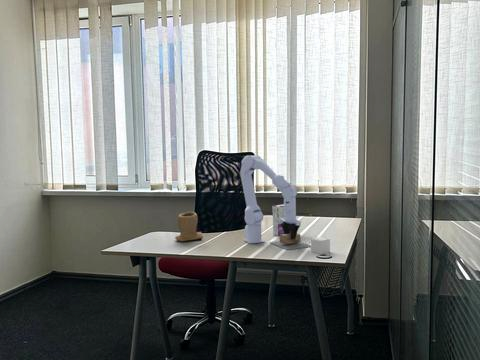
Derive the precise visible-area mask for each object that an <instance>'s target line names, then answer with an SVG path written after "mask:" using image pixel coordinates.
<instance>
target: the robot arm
mask: <svg viewBox="0 0 480 360" xmlns="http://www.w3.org/2000/svg"><path fill="white" fill-rule="evenodd" d="M255 170H260V171H262V172H263V174H265V175H266V176H267V177H268V178H269V179H270V180H271V182H272V185H274V187H276V188H277V190H279V192H281V195H282V198H283V204H284V218H280V222H283V223H281V224H280V225H281V227H282V228H283V231H284V234H290V233H291V239H296V234H298V231H299V228H300V227H301V224H302V222H301V221H302V220H299V219H297V212H296V211H297V203H296V202H297V200H296V196H297V194H298V189H297V187H296V186H295V185H292V183H290V182H289V181H287V180H286V179H285V176H284V175H281V174H277V173H276V172H274V170H273V169H272V168H271V167H270V166H269V165H268V164H267V162H266V161H265V160H264V158H262V157H261V156H259V155H258V154H255V155H245V156H244V157H243V158H242V160H241V166H240V170H239V171H240V173H239V174H240V179H241V184H242V189H243V194H244V200H245V206H246V208H245V210H244V221H245V223H246V225H245V226H244V238H243V242H246V243H249V244H257V243H265V240H262V221H263V220H264V213H263V212H262V210H261V208H260V205H258V203H257V196H256V193H255V186H254V182H253V176H252V175H253V173H254V172H255ZM291 224H292V225H291Z"/></svg>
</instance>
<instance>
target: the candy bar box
mask: <svg viewBox="0 0 480 360" xmlns="http://www.w3.org/2000/svg"><path fill="white" fill-rule="evenodd" d="M271 210H272V234H273V236H276V237H280V235H281V234H284V231H283V228H282V227H281V225H280V224H281V223H283V222H280V218H284V203H283V204H277V205H276V204H275V205H272V209H271ZM291 225H292V224H291Z"/></svg>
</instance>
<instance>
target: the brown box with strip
mask: <svg viewBox="0 0 480 360" xmlns="http://www.w3.org/2000/svg"><path fill="white" fill-rule="evenodd" d="M279 241H280V243H282V244H292V243H299V242H301V234H300V233H297V234H296V239H291V233H290V234H281V235H280V236H279Z"/></svg>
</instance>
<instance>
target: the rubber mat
mask: <svg viewBox="0 0 480 360" xmlns="http://www.w3.org/2000/svg"><path fill="white" fill-rule="evenodd" d="M269 244H270V245H272V246H276V247H278V248H280V249H283V250H285V251H291V250H299V249H307V248H308V247H309V248H311V244H308V243H305V242H303V241H300V242H299V243H292V244H282V243H280V240H277V241H270V242H269Z"/></svg>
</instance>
